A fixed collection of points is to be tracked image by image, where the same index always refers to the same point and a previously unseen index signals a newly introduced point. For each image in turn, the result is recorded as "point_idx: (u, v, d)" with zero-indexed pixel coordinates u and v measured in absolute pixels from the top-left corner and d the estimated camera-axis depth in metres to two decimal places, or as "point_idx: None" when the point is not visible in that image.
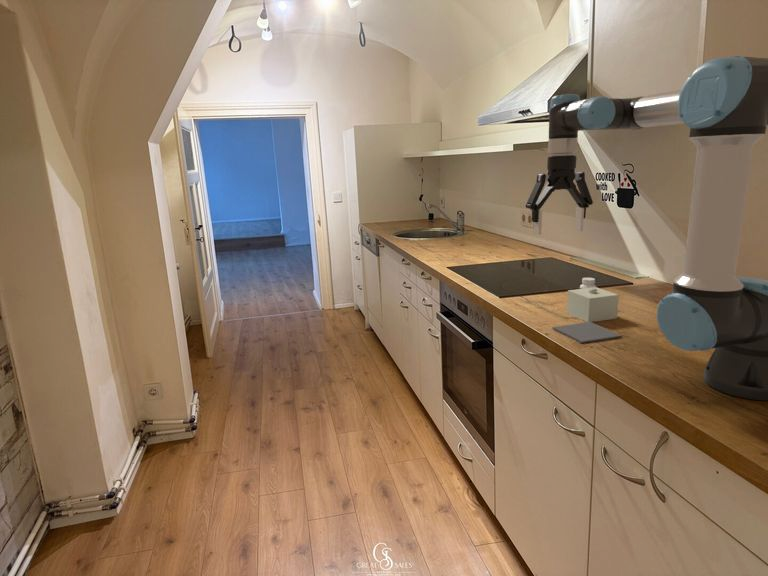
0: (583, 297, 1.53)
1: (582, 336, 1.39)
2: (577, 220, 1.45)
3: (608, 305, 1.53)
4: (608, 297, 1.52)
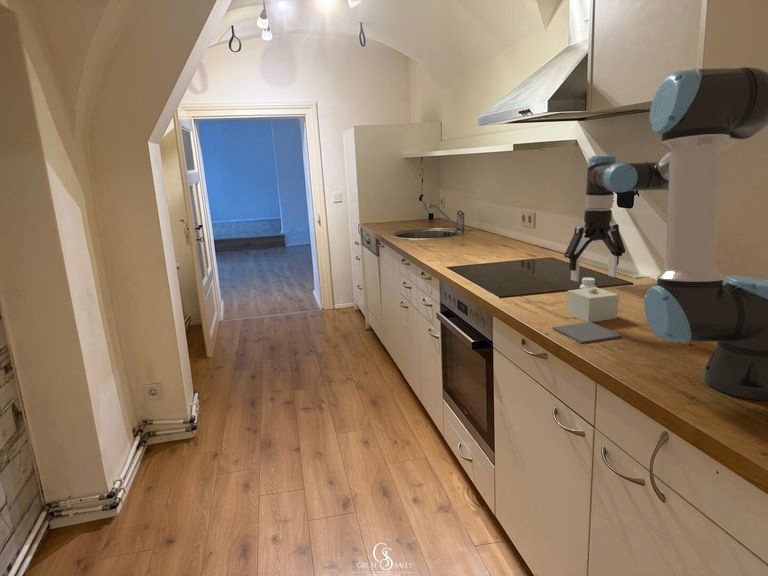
0: (583, 297, 1.53)
1: (582, 336, 1.39)
2: (610, 267, 1.57)
3: (608, 305, 1.53)
4: (608, 297, 1.52)
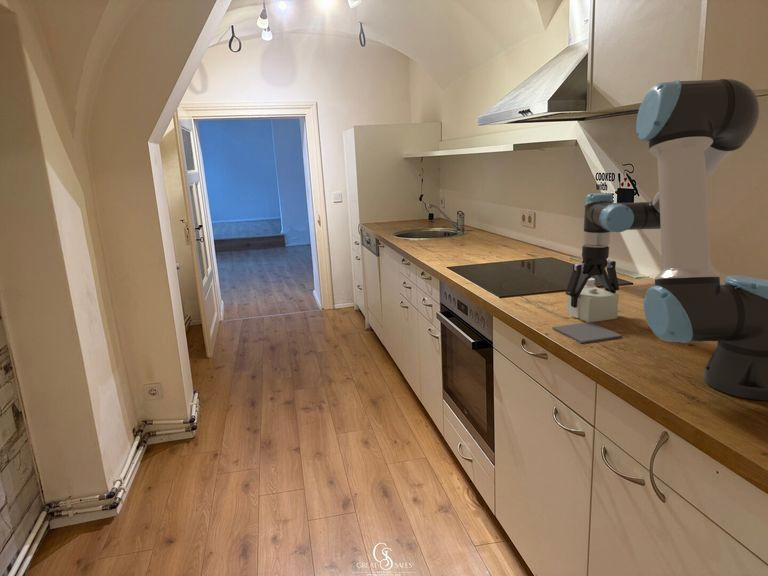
0: (583, 297, 1.53)
1: (582, 336, 1.39)
2: None
3: (608, 305, 1.53)
4: (608, 297, 1.52)
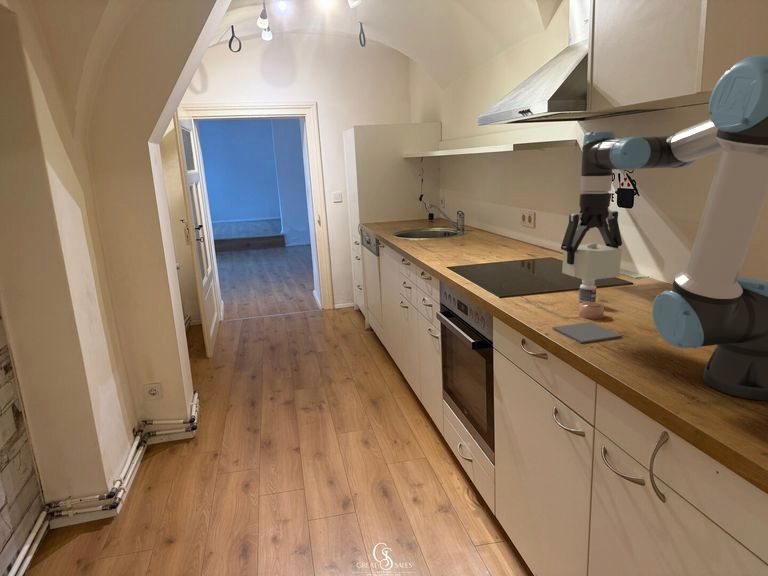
0: (581, 252, 1.34)
1: (582, 336, 1.39)
2: None
3: (609, 261, 1.34)
4: (609, 251, 1.33)
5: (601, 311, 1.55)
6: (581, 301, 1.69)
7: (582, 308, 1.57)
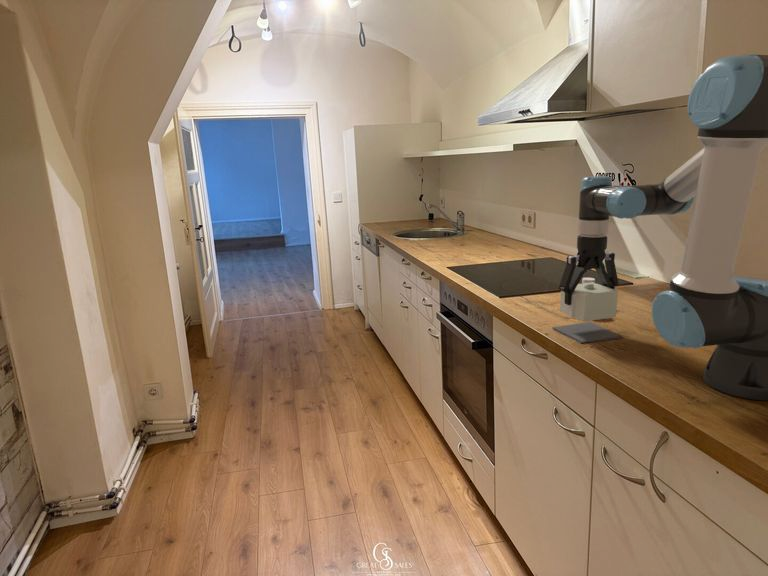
0: (578, 293, 1.37)
1: (582, 336, 1.39)
2: None
3: (606, 302, 1.37)
4: (606, 293, 1.36)
5: None
6: None
7: None
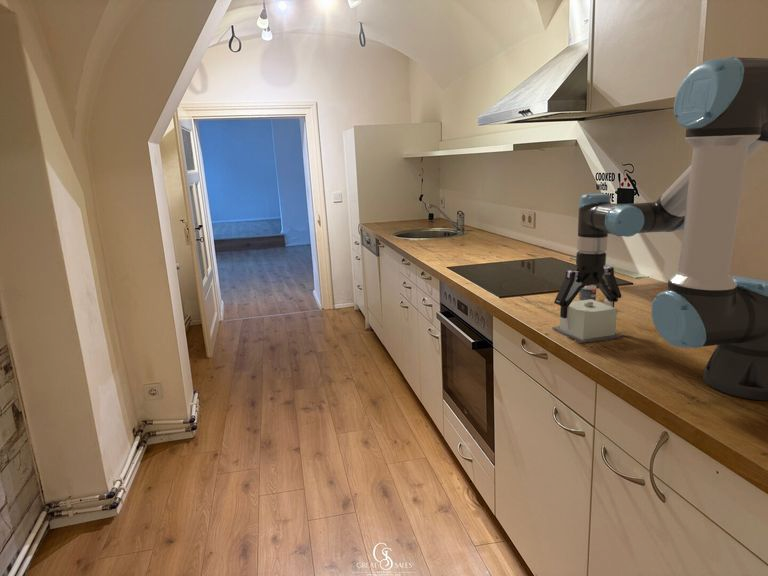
0: (577, 311, 1.38)
1: None
2: None
3: (605, 320, 1.38)
4: (605, 311, 1.37)
5: None
6: None
7: None
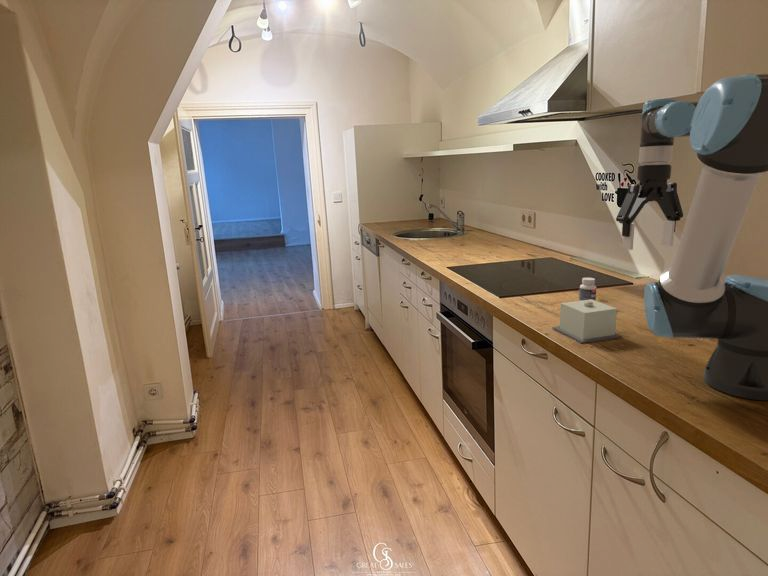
0: (577, 311, 1.38)
1: None
2: (665, 235, 1.35)
3: (605, 320, 1.38)
4: (605, 311, 1.37)
5: None
6: None
7: None
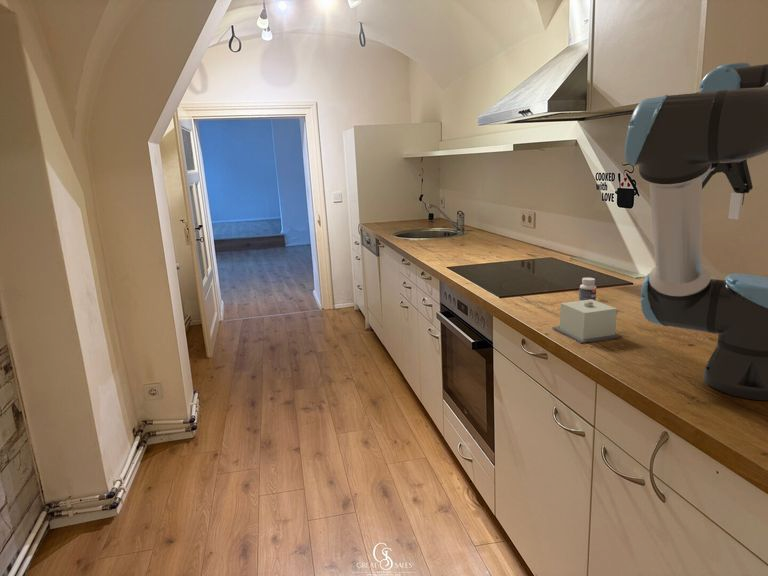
0: (577, 311, 1.38)
1: None
2: (732, 208, 1.30)
3: (605, 320, 1.38)
4: (605, 311, 1.37)
5: None
6: None
7: None
